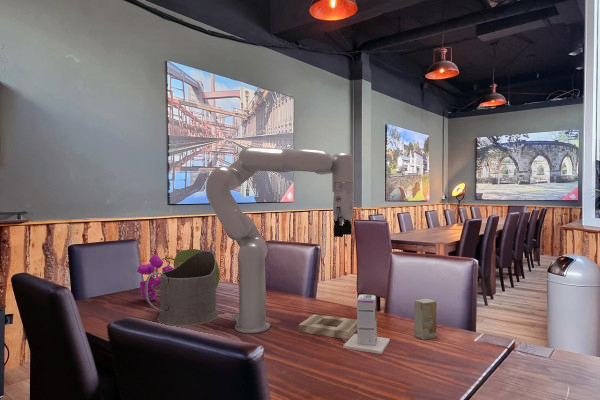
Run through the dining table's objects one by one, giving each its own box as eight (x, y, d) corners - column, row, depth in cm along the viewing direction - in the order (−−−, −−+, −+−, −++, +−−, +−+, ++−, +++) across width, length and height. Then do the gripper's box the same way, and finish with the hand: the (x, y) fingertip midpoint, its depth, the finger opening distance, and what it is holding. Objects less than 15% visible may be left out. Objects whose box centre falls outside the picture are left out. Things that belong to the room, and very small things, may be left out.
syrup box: (375, 345, 122) (375, 299, 122) (356, 344, 124) (356, 298, 124) (376, 339, 128) (376, 294, 128) (358, 338, 129) (358, 293, 129)
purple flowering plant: (214, 232, 197) (168, 251, 164) (231, 286, 198) (189, 315, 165) (168, 245, 208) (116, 265, 176) (184, 296, 209) (136, 325, 177)
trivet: (343, 347, 123) (343, 345, 123) (354, 335, 134) (354, 333, 134) (381, 354, 118) (381, 351, 118) (390, 341, 129) (390, 338, 129)
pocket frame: (298, 331, 138) (298, 324, 138) (314, 320, 151) (314, 314, 151) (348, 339, 131) (348, 331, 131) (359, 326, 143) (359, 320, 143)
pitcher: (230, 313, 161) (230, 252, 161) (168, 336, 134) (168, 263, 134) (189, 306, 173) (189, 248, 173) (125, 326, 145) (124, 258, 145)
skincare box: (423, 340, 129) (422, 303, 129) (413, 336, 133) (413, 300, 133) (437, 337, 132) (437, 300, 132) (427, 333, 136) (427, 297, 136)
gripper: (345, 187, 132) (345, 238, 132) (359, 188, 148) (359, 234, 148) (324, 187, 135) (324, 237, 135) (340, 188, 151) (340, 233, 151)
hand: (342, 235), depth 142 cm, fingers open, 9 cm apart
